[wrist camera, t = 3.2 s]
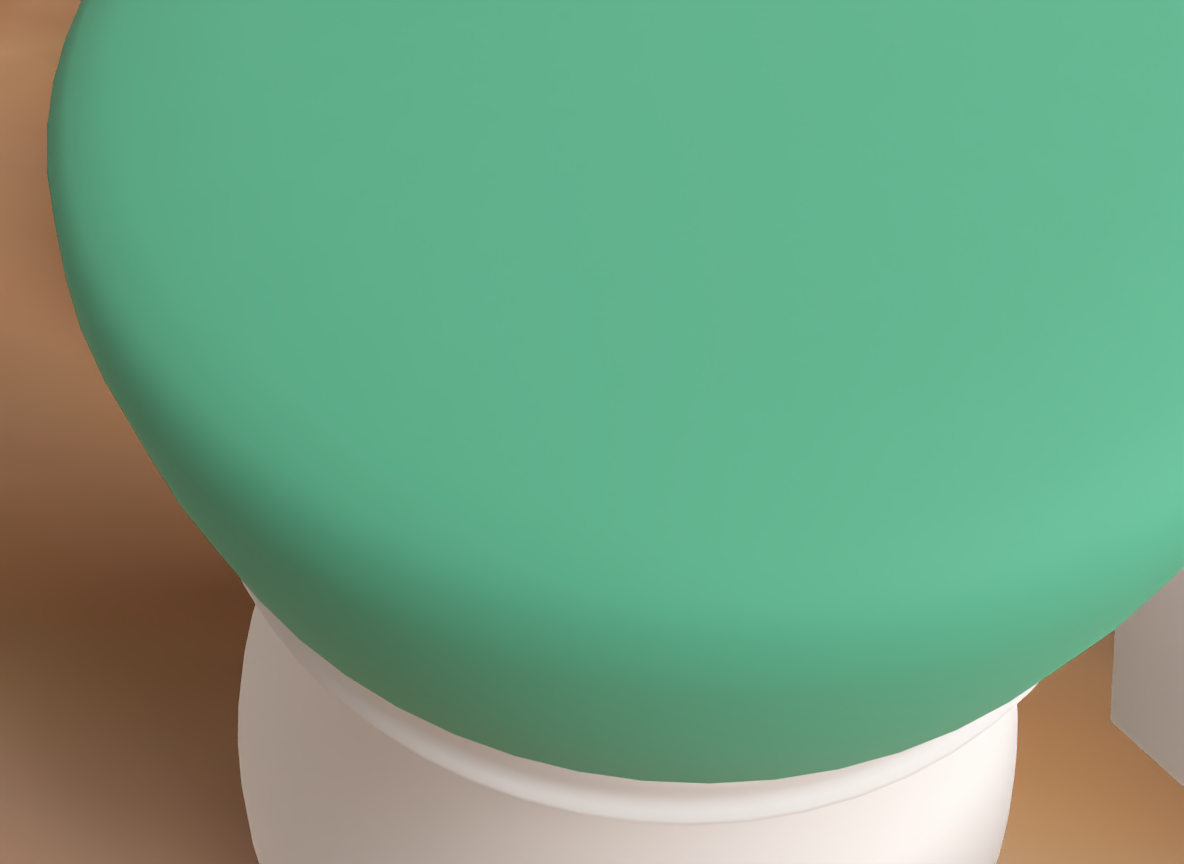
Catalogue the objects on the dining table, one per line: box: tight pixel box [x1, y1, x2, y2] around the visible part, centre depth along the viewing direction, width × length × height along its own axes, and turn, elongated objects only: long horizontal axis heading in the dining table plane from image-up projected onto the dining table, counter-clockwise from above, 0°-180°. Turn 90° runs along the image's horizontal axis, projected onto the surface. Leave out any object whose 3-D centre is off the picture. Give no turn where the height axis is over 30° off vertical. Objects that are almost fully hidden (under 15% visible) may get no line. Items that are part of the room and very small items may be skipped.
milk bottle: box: [47, 0, 1184, 864], centre depth 12 cm, size 8×8×20 cm
